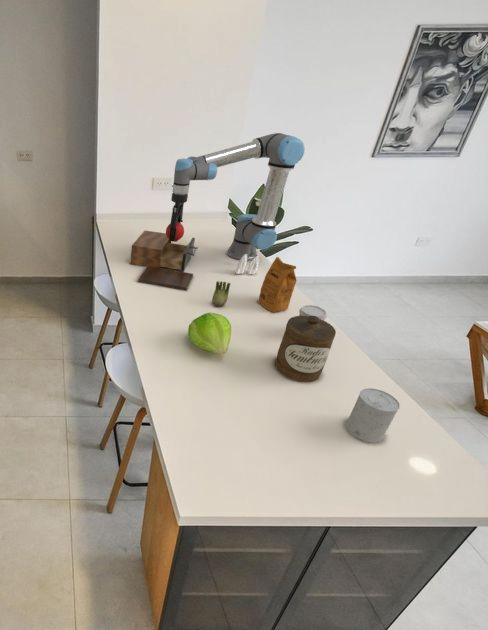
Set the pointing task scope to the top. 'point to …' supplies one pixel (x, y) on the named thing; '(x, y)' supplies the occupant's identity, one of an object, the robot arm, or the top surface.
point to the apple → (178, 232)
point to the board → (166, 278)
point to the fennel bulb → (220, 294)
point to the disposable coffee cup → (313, 311)
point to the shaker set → (252, 267)
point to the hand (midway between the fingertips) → (174, 237)
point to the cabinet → (148, 249)
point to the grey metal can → (372, 415)
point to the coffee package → (278, 286)
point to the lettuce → (211, 332)
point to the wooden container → (304, 348)
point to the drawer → (177, 255)
